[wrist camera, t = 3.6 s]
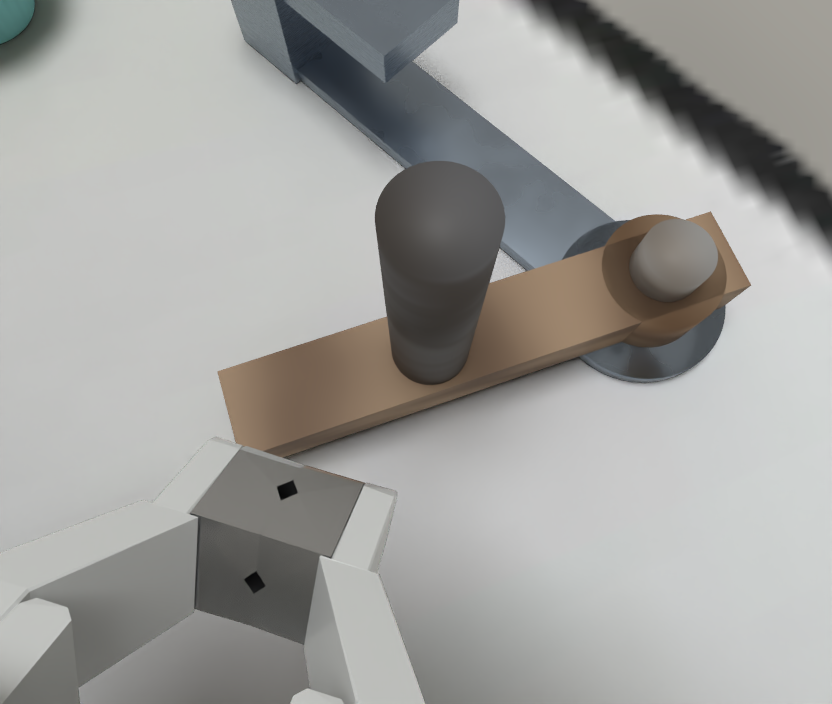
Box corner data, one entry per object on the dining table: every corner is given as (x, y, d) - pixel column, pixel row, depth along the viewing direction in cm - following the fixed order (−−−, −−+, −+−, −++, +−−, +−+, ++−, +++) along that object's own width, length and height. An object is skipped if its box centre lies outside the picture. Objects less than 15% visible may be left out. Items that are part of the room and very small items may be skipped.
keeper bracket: (751, 299, 28) (846, 231, 22) (649, 417, 26) (722, 380, 20) (330, -26, 34) (311, -155, 27) (225, 54, 32) (180, -63, 26)
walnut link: (678, 225, 28) (874, -9, 16) (729, 323, 27) (986, 146, 15) (231, 371, 26) (73, 226, 14) (262, 484, 24) (115, 432, 13)
